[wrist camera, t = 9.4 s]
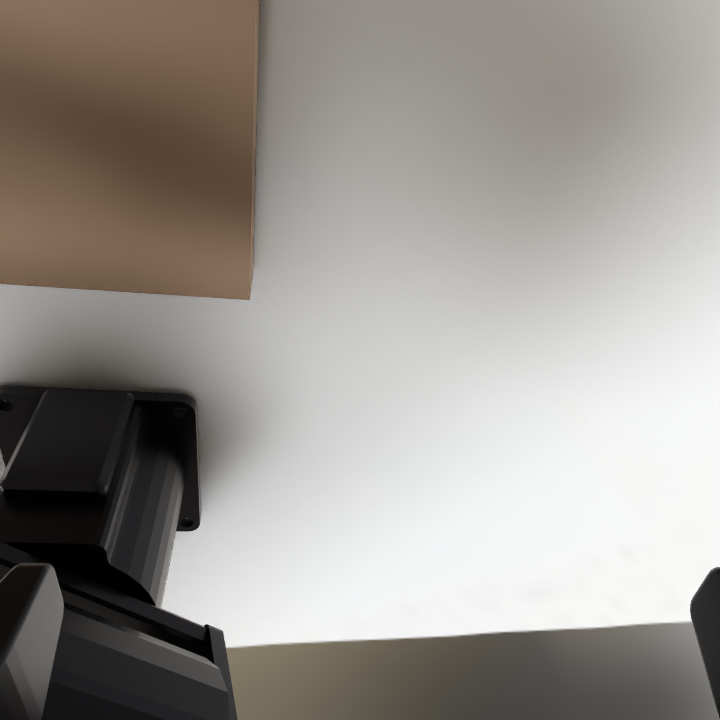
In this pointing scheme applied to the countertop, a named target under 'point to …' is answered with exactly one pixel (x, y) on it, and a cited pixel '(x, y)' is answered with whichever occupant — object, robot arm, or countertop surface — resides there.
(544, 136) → the countertop surface
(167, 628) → the robot arm
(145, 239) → the brown tray
